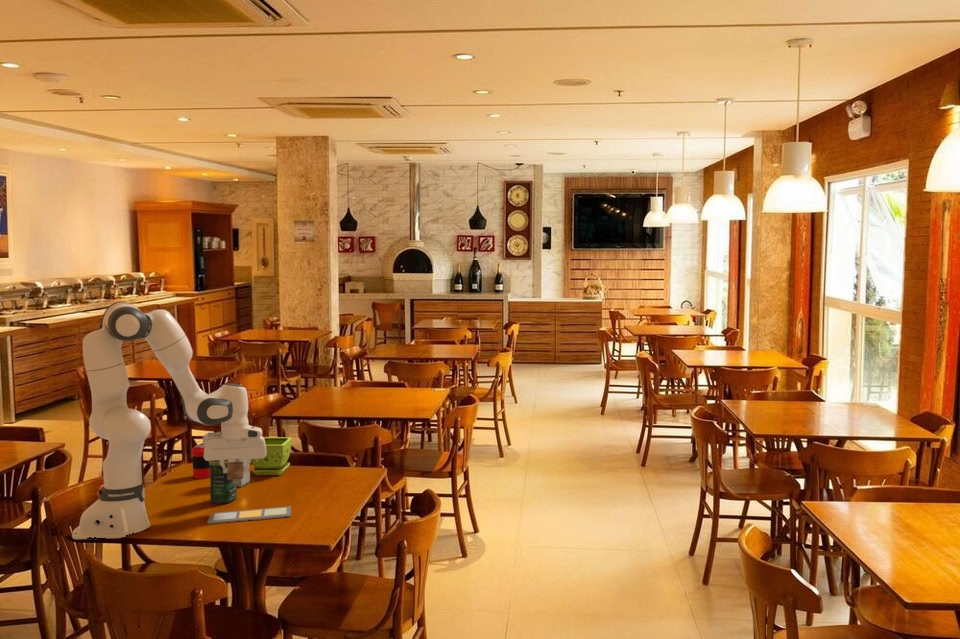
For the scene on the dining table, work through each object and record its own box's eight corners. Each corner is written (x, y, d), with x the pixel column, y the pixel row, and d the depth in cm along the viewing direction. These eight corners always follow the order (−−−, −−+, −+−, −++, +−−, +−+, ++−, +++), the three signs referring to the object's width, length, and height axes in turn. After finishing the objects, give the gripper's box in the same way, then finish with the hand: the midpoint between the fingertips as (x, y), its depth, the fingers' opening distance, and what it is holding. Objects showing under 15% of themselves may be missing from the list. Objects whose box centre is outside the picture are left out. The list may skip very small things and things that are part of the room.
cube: (227, 479, 280) (227, 464, 280) (228, 476, 285) (228, 461, 284) (242, 478, 281) (242, 464, 281) (243, 475, 286) (243, 460, 285)
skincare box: (241, 487, 311) (239, 445, 310) (223, 487, 312) (221, 445, 311) (251, 481, 319) (249, 440, 318) (233, 481, 320) (231, 440, 319)
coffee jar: (228, 505, 289) (226, 451, 288) (207, 504, 290) (204, 451, 289) (241, 496, 299) (238, 445, 297) (220, 496, 300) (217, 445, 299)
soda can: (189, 478, 326) (187, 447, 326) (202, 473, 333) (200, 443, 332) (204, 479, 324) (202, 448, 323) (217, 474, 330) (216, 444, 330)
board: (207, 524, 269) (207, 522, 269) (210, 515, 278) (210, 512, 278) (290, 517, 274) (290, 514, 274) (291, 508, 284) (291, 505, 284)
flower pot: (248, 477, 325) (247, 445, 324) (259, 468, 339) (258, 437, 338) (284, 476, 325) (283, 444, 324) (294, 467, 339) (292, 436, 338)
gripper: (201, 434, 277) (202, 476, 277) (265, 432, 281) (266, 473, 282) (203, 431, 283) (204, 471, 284) (266, 428, 287) (266, 468, 288)
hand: (235, 472), depth 283 cm, fingers closed on cube, 5 cm apart
